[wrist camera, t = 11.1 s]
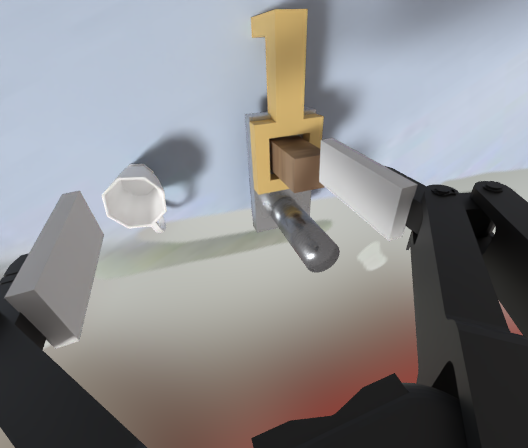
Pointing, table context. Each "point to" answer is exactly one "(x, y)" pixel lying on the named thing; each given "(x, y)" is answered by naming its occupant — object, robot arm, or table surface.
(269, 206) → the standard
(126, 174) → the cup
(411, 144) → the table surface
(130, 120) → the table surface
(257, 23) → the bracket
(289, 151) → the pin
